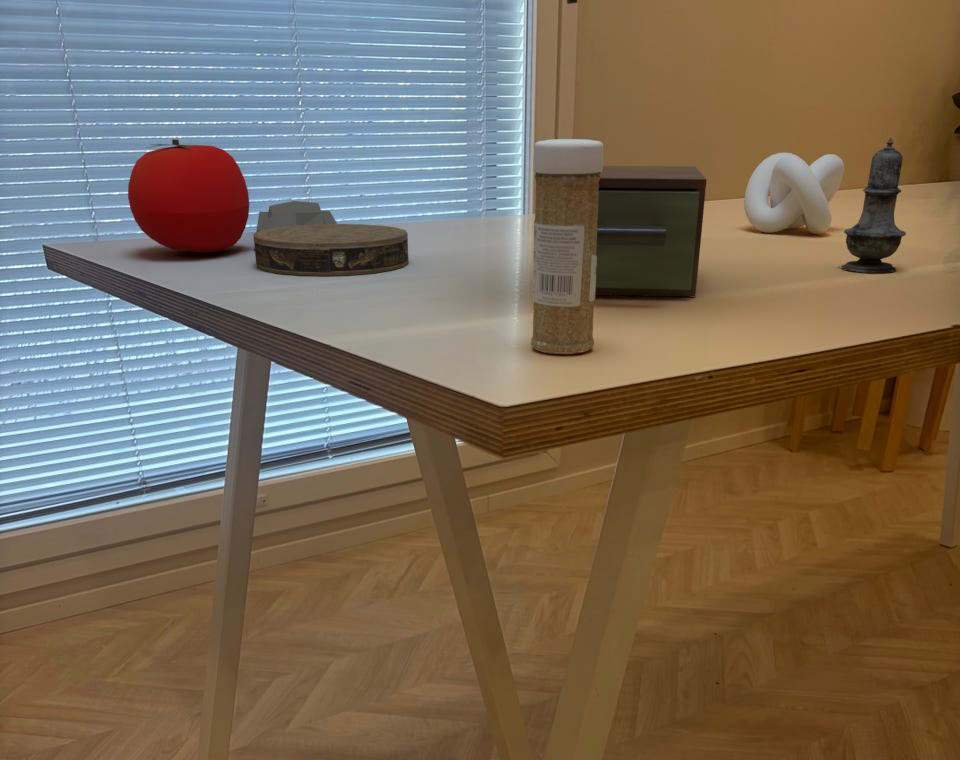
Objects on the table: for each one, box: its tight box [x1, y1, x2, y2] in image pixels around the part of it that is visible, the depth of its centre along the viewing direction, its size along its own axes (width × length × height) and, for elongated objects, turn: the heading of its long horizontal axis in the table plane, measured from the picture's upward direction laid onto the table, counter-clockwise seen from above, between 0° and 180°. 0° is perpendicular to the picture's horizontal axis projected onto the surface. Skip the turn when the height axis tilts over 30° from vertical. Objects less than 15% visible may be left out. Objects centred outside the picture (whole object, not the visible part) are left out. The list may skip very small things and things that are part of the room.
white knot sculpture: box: [743, 152, 845, 235], centre depth 129 cm, size 11×12×9 cm
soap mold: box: [253, 200, 338, 252], centre depth 125 cm, size 10×20×4 cm, turn 10°
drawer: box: [596, 188, 700, 290], centre depth 92 cm, size 18×11×8 cm, turn 173°
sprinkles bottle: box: [530, 138, 604, 355], centre depth 70 cm, size 5×5×13 cm
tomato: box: [127, 138, 250, 254], centre depth 112 cm, size 12×14×11 cm
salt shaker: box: [841, 137, 907, 274], centre depth 102 cm, size 6×6×12 cm
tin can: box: [253, 223, 409, 277], centre depth 107 cm, size 16×16×3 cm
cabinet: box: [595, 165, 708, 297], centre depth 96 cm, size 15×13×10 cm
